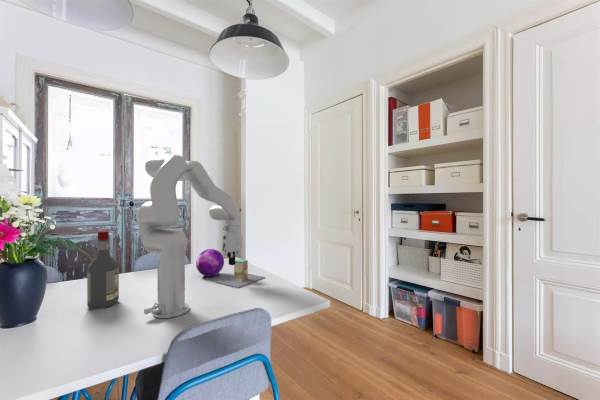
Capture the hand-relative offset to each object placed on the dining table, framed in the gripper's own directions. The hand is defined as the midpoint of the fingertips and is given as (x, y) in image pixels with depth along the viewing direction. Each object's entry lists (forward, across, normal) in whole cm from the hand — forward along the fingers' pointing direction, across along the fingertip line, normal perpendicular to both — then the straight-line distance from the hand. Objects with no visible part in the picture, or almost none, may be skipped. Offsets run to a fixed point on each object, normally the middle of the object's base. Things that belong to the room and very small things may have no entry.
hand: (231, 264), depth 138 cm
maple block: (+9, +6, 0) cm, 11 cm away
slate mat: (+10, +6, 0) cm, 12 cm away
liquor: (+10, -48, +24) cm, 54 cm away
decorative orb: (+10, +3, +21) cm, 24 cm away
